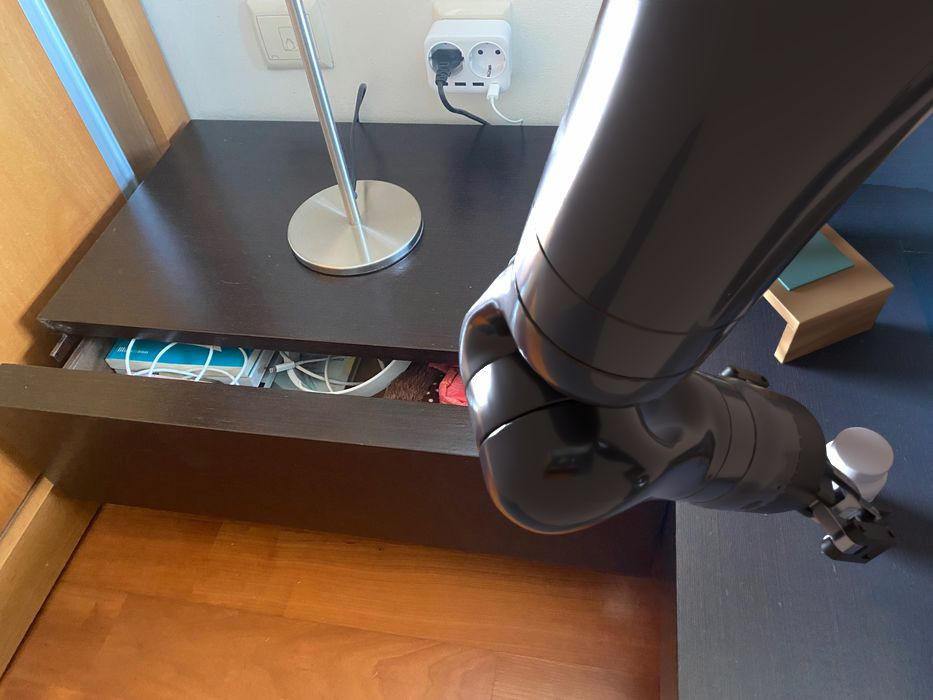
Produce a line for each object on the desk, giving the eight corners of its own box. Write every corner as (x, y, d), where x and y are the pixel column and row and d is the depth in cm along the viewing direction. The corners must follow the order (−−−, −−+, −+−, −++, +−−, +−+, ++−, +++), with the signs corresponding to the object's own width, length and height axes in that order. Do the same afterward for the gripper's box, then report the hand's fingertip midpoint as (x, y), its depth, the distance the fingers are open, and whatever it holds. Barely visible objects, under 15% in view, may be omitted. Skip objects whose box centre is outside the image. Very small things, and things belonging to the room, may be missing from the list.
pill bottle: (806, 466, 61) (838, 412, 54) (866, 490, 59) (906, 437, 52) (790, 512, 58) (821, 462, 52) (852, 539, 57) (893, 490, 50)
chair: (871, 328, 69) (933, 218, 58) (781, 364, 67) (827, 258, 56) (768, 226, 78) (805, 114, 67) (688, 255, 77) (711, 146, 66)
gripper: (872, 512, 36) (956, 522, 47) (710, 315, 44) (813, 362, 55) (755, 591, 39) (859, 582, 50) (625, 394, 48) (738, 423, 59)
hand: (835, 467), depth 53 cm, fingers open, 8 cm apart
